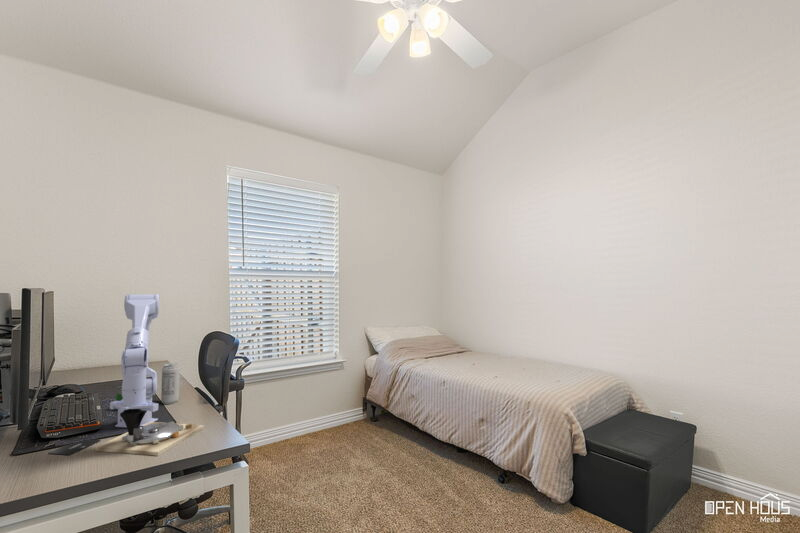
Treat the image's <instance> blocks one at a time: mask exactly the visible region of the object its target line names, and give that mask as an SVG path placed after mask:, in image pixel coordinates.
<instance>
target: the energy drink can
mask: <svg viewBox="0 0 800 533" xmlns="http://www.w3.org/2000/svg"><path fill="white" fill-rule="evenodd" d="M160 396H161V399H160V400H161V403H162V404H163V405H172V404H173V405H174V404H175V403H177V402H178V400H179V398H180V366H179V364H178V362H171V363H165V364H163V367H162V369H161V395H160Z"/></svg>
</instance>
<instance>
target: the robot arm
mask: <svg viewBox="0 0 800 533" xmlns="http://www.w3.org/2000/svg"><path fill="white" fill-rule="evenodd" d="M123 303H124V304H123V307H124V312H125V316H126V319H128V320H130V321H131V322H132V323H131V325H132V326H131V327H132V328H131V329H129V330H128V331H127V332H126V339H125V346H124V347H125V348H124V350H122V352H121V362H120V363H121V368H122V371H121V374H122V375H123V376H122V382H121V384H122V385H121V394H122V397H123V399H122V400H121V401H116V400H115V401H111V402H109V409H110V410H116V409H118V410H117V424H116V425H115V427H116V428H126V429H127V432H128V433H129V435H131V436H133V428H134V427H136V426H141V425H144V424H146V423H148V422H158V421H159V418H155V417H153V416H152V415H153V413H155V412H157V411H158V410H159V403H157V402H153V399H152V396H153V395H154V396H156V394H157V391H158V373H157V372H156V370H154V369H153V368H152V367H151V368H150V367H149V358H150V354H149V353H150V352H149V350H150V348H149V347H150V329H151V328H150V327H151V323H152V321H153V320H155V319H157V318H158V316H159V312H160V311H159V310H160V295H159V294H158V293H154V294H153V293H148V294H147V293H146V294H142V293H141V294H140V293H139V294H136V293H135V294H129V293H127V294H125V296H124V302H123Z"/></svg>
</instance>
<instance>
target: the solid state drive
mask: <svg viewBox="0 0 800 533" xmlns="http://www.w3.org/2000/svg"><path fill="white" fill-rule="evenodd" d="M85 439H86V440H83V441H79V442H76V443H73V444H70V443H68V444H69V445H67V444H66V445H63V446H60V447H58V448H56V449H54V450H51V451H49V452H48V455H55V456H72V455H74V454H75V453H78V452H80V451H82V450H84V449H87V448H88V447H91V446H94V445H95V443H96V444H97V443H100V442H101V439H95V438H93V439H92V440H91V438H85ZM87 439H89V440H87ZM99 441H100V442H99Z"/></svg>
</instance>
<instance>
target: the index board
mask: <svg viewBox="0 0 800 533" xmlns="http://www.w3.org/2000/svg"><path fill="white" fill-rule="evenodd" d="M150 423H154V424H156V423H164V422H163V421H155V422H148V423H146V424H144V425H141V426H146V425H149V424H150ZM174 423H175V422H174ZM175 424H178V425H183V429H182V430H180V431H179V435H178V436H177V437H171V438H169V439H166V440H163V441H159V443H156V444H153V443H149V444H137V445H135V446H132V445H130V443H128V442H127V441H123V442H122V437H123V436H126V435H127V434H128V431H127V432H124V433H123V434H121V435H118V436H117V437H114V438H112V439H109V440H108V441H106V442H104V443H101V444H99V445H97V446H95V451H97V452H106V453H107V452H108V453H109V452H110V453H121V454H132V455H145V456H146V455H147V456H156V457H158V456H160V455H162V454H164V453H165V452H167V451H168V450H170V449H172V448H174V447H175V446H177V445H178V444H180V443H182V442H184V441H186V440H187V439H188V437H189V438H190V437H191V435H192V436H194V435H195V434H197V433H198V431H199V432H201V431H202V430H204V429H205V425H203V424H193V423H175ZM203 428H204V429H203ZM201 429H202V430H201ZM193 434H194V435H193ZM183 440H184V441H183Z"/></svg>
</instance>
